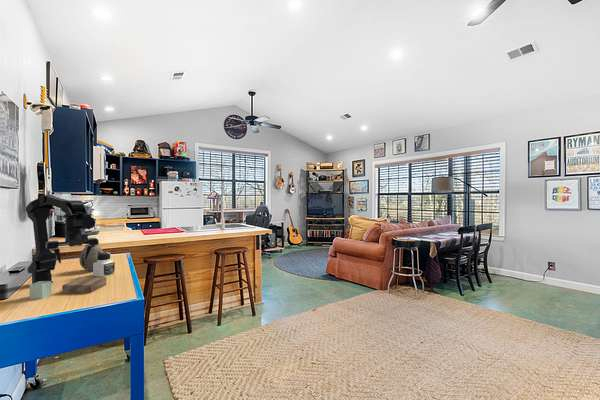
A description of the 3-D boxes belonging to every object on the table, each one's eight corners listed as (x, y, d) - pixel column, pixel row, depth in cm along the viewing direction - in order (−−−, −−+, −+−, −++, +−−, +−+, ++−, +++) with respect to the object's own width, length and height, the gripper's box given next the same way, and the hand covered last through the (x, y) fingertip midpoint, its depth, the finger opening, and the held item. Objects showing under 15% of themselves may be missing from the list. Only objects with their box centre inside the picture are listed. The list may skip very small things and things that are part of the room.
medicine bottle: (103, 277, 155) (104, 254, 155) (92, 276, 157) (92, 254, 157) (114, 273, 162) (115, 252, 162) (104, 272, 164) (104, 251, 164)
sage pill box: (29, 298, 123) (29, 284, 122) (39, 294, 127) (39, 281, 127) (42, 298, 123) (42, 284, 123) (51, 294, 128) (51, 281, 128)
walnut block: (62, 294, 130) (62, 285, 130) (80, 285, 142) (80, 277, 142) (91, 293, 131) (91, 285, 131) (106, 285, 143) (106, 277, 143)
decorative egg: (92, 273, 162) (92, 246, 162) (74, 272, 164) (74, 245, 164) (109, 268, 173) (109, 243, 173) (92, 267, 175) (92, 242, 175)
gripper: (48, 231, 122) (48, 268, 122) (101, 228, 135) (101, 261, 136) (45, 228, 130) (45, 263, 130) (96, 226, 143) (95, 257, 143)
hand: (72, 261), depth 134 cm, fingers open, 9 cm apart
